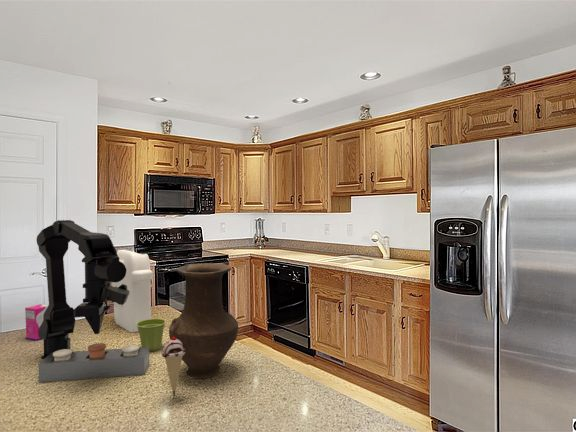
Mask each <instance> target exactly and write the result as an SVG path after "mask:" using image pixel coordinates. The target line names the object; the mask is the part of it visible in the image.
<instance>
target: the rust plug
mask: <svg viewBox="0 0 576 432" xmlns="http://www.w3.org/2000/svg"><path fill="white" fill-rule="evenodd" d="M106 348H107V344H106V343H103V342H100V343H93V344H90V345H88V346H87V351H89V358H104V356H105V350H106Z"/></svg>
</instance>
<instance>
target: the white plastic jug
mask: <svg viewBox="0 0 576 432" xmlns="http://www.w3.org/2000/svg"><path fill="white" fill-rule="evenodd" d="M116 251H117V255H118V257H119V261H120V262H122V263H123V264H124V265H125V267H126V275H125V277H124V278H123V279H122V280H121V281H119V282H111V286H113V287H117V288H118V287H119V286H120V285H122V284H124V285H127V289H128V290H129V295H128V298H127V300H126V302H125V303H124V304H123V305H120V304H118V303H116V302H113V316H114V321H115V324H116V325H117V326H119V327H121V328H122V329H124V330H125V331H127V332H130V333H139V330H138V327H137V326H136V323H138V322H140V321H143V320H147V319H152V313H151V310H152V306H151V303H152V301H151V300H152V297H151V294H152V293H151V289H152V288H151V286H152V284H151V281H152V279H153V278H154V271H153V270H151V262H150V257H149V255H148V254H147V253H143V254H142V253H138V252H135V251H132V250H127V249H118V250H116Z"/></svg>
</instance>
